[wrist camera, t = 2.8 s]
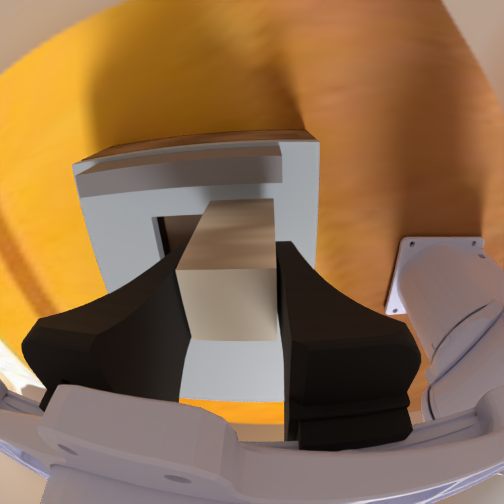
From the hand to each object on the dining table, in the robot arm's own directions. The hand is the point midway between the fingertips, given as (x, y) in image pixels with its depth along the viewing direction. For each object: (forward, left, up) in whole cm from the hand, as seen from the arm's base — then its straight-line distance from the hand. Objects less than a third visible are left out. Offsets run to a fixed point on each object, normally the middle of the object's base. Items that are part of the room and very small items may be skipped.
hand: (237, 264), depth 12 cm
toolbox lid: (+3, +7, -6) cm, 10 cm away
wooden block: (0, 0, -3) cm, 3 cm away
